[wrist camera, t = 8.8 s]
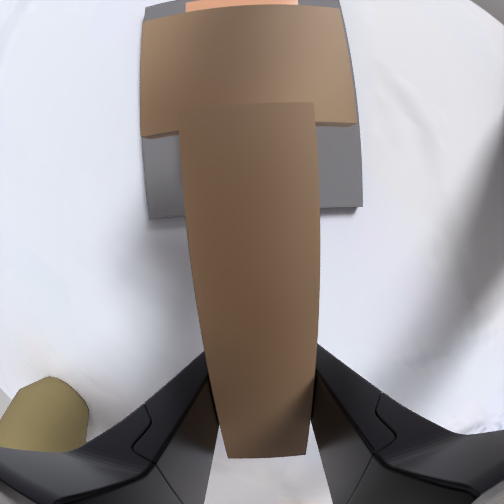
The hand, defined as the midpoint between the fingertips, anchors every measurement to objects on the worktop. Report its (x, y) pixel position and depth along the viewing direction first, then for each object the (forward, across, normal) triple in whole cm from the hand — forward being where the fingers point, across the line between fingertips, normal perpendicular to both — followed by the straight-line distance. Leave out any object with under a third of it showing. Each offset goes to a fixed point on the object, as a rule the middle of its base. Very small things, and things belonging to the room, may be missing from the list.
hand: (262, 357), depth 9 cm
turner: (+1, 0, -4) cm, 4 cm away
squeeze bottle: (+9, +20, +13) cm, 25 cm away
